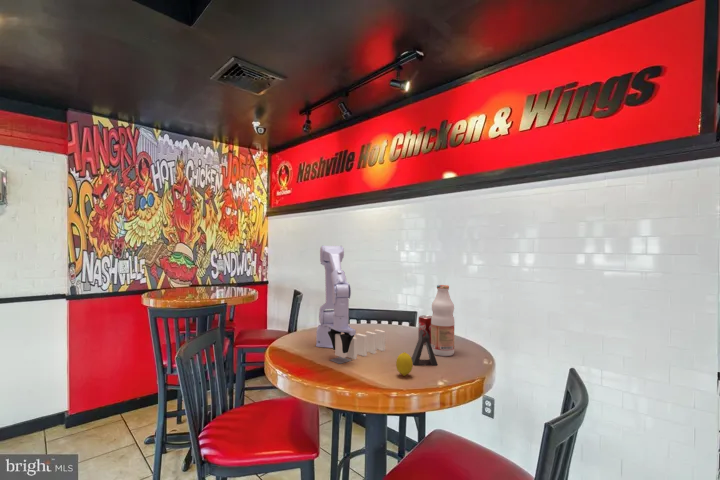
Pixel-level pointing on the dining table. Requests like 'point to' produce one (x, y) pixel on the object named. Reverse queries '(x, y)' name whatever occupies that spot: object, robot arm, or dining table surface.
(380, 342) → the head tile
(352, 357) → the tile
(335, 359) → the end marker
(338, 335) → the tile
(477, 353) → the dining table surface
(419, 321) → the soda can
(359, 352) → the tile
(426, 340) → the phone stand
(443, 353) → the fruit juice
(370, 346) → the tile
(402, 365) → the lemon
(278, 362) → the dining table surface
